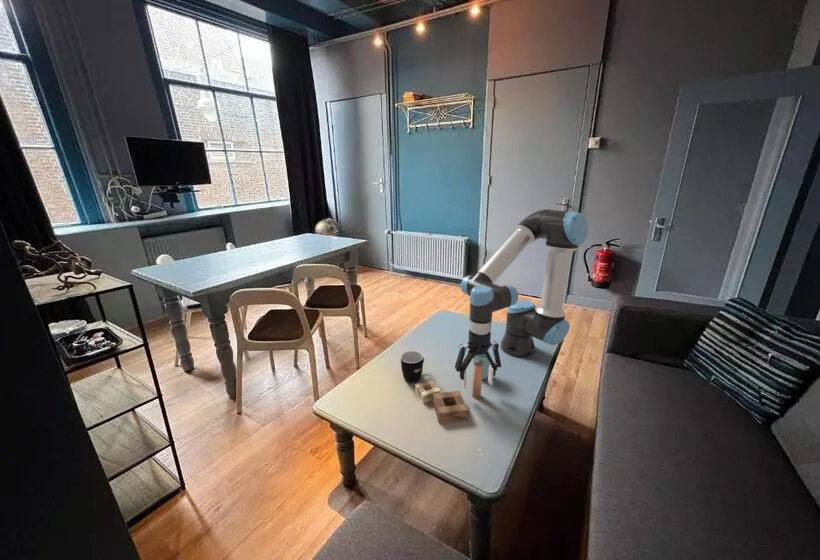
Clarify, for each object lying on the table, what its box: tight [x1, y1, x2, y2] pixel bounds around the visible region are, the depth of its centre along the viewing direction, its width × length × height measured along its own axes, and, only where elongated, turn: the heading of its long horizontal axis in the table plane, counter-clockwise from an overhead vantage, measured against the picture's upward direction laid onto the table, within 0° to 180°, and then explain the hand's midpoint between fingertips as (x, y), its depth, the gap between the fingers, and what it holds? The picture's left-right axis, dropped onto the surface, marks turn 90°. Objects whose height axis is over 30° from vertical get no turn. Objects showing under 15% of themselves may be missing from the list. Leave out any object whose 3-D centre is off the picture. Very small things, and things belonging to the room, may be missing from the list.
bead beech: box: [414, 379, 441, 404], centre depth 122 cm, size 7×7×4 cm
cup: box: [472, 349, 493, 380], centre depth 132 cm, size 8×8×10 cm
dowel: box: [471, 359, 483, 399], centre depth 120 cm, size 3×3×15 cm
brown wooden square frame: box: [432, 390, 469, 423], centre depth 114 cm, size 10×10×4 cm
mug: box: [400, 350, 425, 384], centre depth 133 cm, size 12×9×10 cm
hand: (477, 384), depth 120 cm, fingers open, 9 cm apart
